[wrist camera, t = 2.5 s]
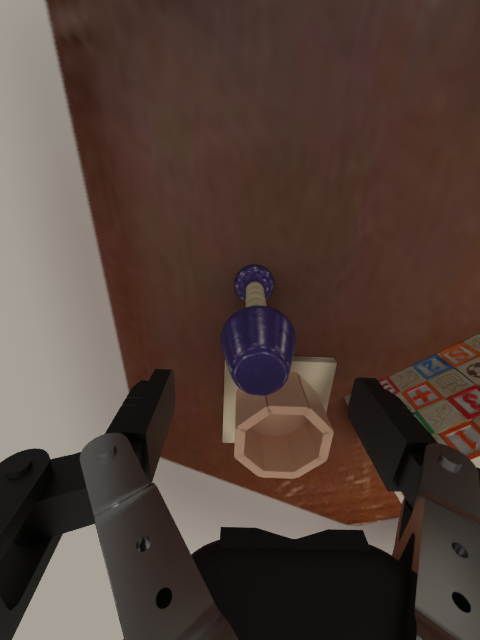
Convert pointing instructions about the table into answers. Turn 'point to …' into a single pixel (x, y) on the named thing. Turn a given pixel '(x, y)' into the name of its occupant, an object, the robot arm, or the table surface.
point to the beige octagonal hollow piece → (282, 430)
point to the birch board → (309, 368)
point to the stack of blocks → (444, 396)
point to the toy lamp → (257, 336)
